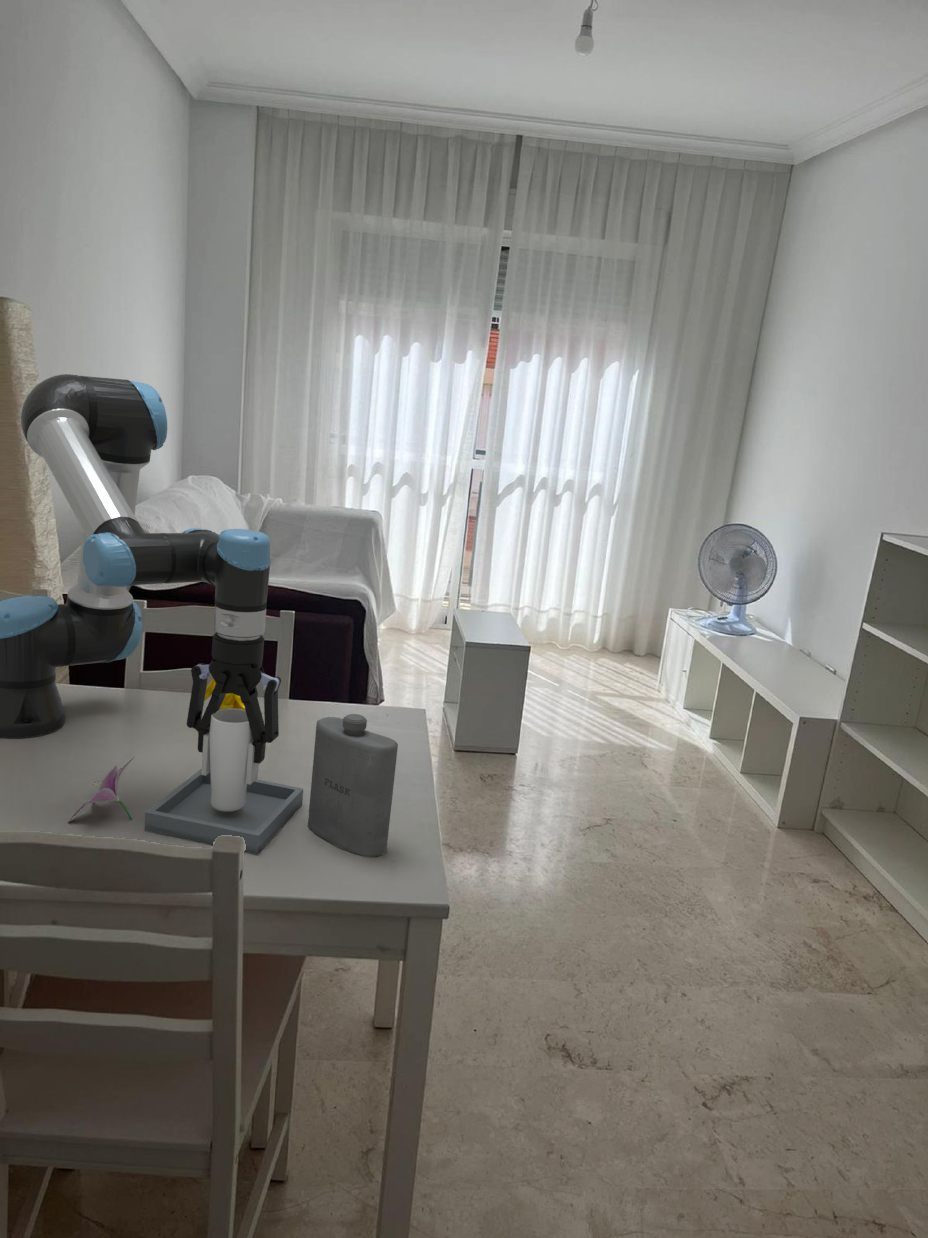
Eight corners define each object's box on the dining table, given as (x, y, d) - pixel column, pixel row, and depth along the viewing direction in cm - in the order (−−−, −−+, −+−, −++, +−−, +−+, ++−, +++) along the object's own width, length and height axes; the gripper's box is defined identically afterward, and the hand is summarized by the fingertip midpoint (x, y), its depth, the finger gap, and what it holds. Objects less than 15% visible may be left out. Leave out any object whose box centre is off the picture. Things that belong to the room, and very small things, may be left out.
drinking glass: (238, 818, 140) (244, 726, 137) (197, 810, 141) (202, 718, 138) (256, 801, 147) (263, 712, 143) (217, 793, 148) (222, 705, 144)
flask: (297, 826, 144) (307, 706, 140) (323, 816, 149) (334, 699, 144) (367, 863, 136) (380, 736, 131) (393, 850, 140) (406, 727, 136)
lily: (132, 800, 149) (103, 750, 146) (176, 797, 141) (146, 744, 139) (72, 847, 139) (40, 794, 137) (115, 845, 132) (82, 789, 130)
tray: (144, 830, 137) (145, 812, 136) (200, 785, 154) (201, 768, 154) (257, 854, 134) (258, 835, 134) (302, 805, 152) (303, 788, 151)
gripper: (165, 628, 135) (159, 773, 141) (291, 650, 132) (279, 798, 138) (190, 618, 143) (182, 756, 148) (309, 638, 140) (298, 779, 145)
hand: (229, 776), depth 143 cm, fingers closed on drinking glass, 7 cm apart
